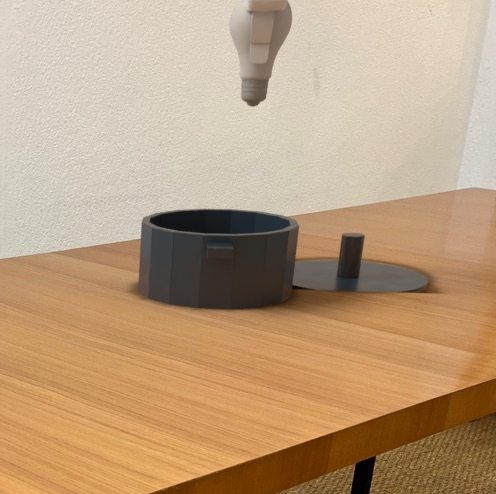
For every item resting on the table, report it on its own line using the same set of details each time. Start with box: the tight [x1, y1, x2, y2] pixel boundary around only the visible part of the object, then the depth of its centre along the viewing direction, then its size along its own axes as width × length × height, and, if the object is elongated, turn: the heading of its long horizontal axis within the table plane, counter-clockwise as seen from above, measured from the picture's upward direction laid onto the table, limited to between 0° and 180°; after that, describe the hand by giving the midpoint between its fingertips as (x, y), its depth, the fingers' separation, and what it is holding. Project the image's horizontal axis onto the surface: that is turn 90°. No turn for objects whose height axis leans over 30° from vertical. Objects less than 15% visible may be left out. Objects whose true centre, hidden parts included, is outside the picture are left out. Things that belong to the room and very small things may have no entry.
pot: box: [137, 208, 300, 310], centre depth 109 cm, size 16×21×8 cm
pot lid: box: [292, 232, 429, 294], centre depth 116 cm, size 17×17×6 cm
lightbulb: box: [228, 0, 293, 107], centre depth 106 cm, size 6×6×11 cm
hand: (256, 62), depth 106 cm, fingers closed on lightbulb, 5 cm apart
